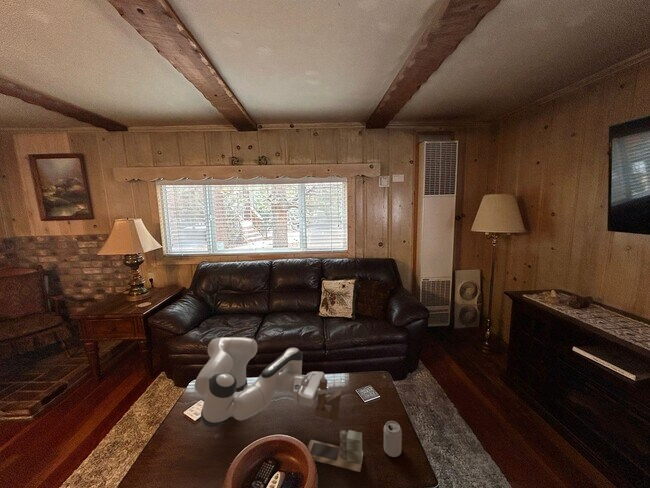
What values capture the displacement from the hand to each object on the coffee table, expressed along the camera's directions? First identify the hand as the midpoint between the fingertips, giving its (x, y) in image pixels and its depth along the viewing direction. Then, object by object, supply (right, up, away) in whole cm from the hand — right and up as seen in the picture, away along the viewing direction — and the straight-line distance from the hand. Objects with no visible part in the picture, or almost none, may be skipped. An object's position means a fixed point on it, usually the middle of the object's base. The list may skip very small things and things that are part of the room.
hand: (328, 390), depth 123 cm
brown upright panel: (-1, -14, +3) cm, 14 cm away
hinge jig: (+2, -23, -9) cm, 25 cm away
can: (+28, -23, -7) cm, 36 cm away
